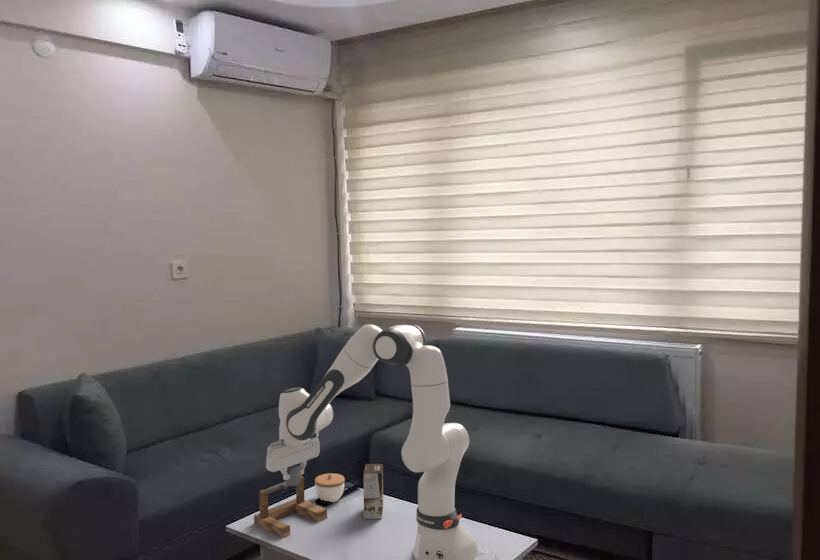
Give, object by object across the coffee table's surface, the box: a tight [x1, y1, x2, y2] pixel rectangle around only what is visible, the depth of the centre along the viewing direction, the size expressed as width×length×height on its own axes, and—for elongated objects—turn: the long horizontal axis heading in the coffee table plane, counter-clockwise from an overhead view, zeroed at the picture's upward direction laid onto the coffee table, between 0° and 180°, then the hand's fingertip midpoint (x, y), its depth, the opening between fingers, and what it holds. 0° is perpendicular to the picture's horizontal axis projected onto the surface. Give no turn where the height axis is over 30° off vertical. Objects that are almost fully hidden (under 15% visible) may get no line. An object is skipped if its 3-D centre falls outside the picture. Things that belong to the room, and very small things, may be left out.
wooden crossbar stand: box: [253, 475, 328, 539], centre depth 231 cm, size 15×19×12 cm
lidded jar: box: [314, 472, 346, 504], centre depth 249 cm, size 11×11×9 cm
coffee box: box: [363, 463, 384, 520], centre depth 237 cm, size 9×6×16 cm
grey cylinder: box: [286, 463, 302, 487], centre depth 228 cm, size 5×5×6 cm
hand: (293, 476), depth 228 cm, fingers closed on grey cylinder, 5 cm apart
